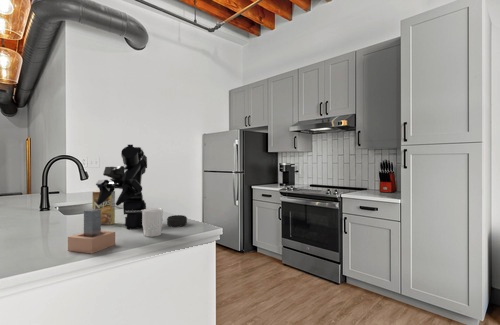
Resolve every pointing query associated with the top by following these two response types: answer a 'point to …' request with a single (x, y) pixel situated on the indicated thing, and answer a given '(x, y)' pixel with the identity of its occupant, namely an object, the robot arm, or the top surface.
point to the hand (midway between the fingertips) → (107, 204)
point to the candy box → (105, 208)
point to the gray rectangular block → (92, 222)
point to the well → (91, 242)
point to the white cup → (152, 221)
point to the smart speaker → (176, 220)
